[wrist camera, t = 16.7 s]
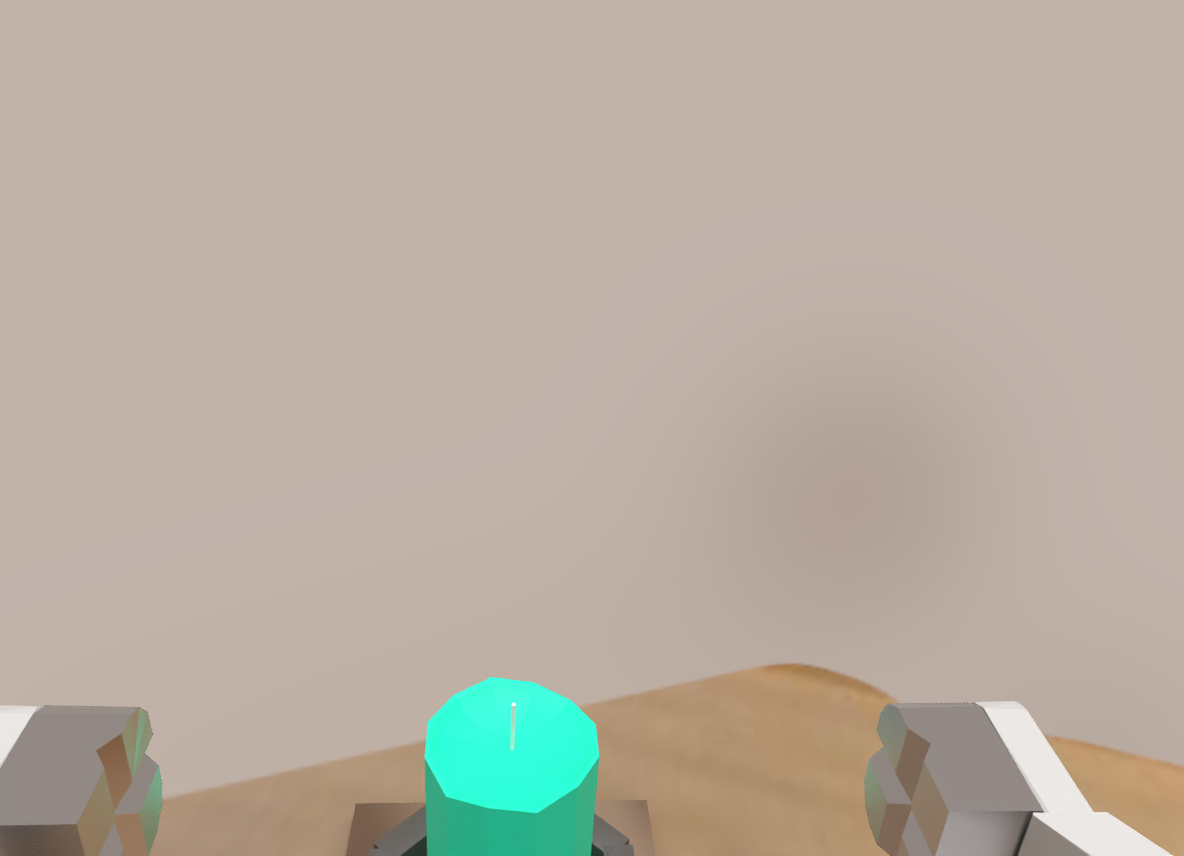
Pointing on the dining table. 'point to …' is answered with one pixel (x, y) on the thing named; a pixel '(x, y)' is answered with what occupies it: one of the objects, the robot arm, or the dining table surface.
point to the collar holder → (399, 835)
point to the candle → (510, 773)
